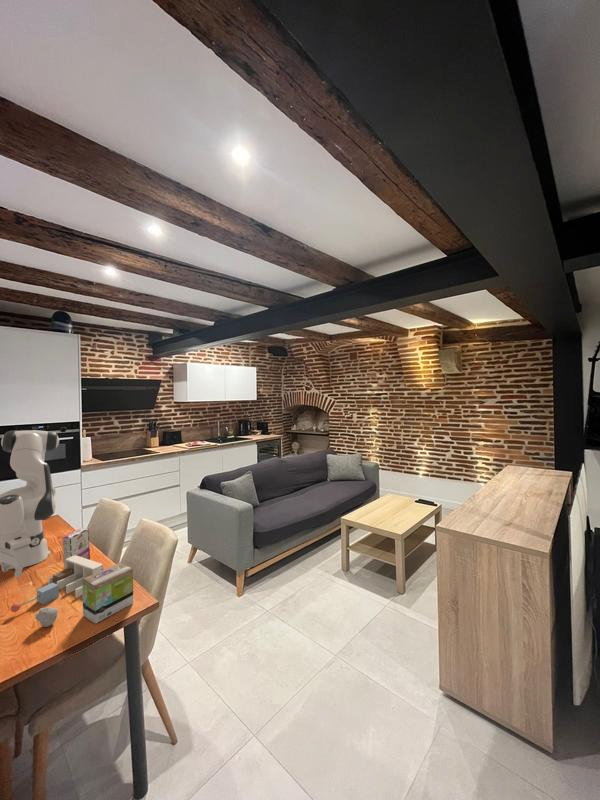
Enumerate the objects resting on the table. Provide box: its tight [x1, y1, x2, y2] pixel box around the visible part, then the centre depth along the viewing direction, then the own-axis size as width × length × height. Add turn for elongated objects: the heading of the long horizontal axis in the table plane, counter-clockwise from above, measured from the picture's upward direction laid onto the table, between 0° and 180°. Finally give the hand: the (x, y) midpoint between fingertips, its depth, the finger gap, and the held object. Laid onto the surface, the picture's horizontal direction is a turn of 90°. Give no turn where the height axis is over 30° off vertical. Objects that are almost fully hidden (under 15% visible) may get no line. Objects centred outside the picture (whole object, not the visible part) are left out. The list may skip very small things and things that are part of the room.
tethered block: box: [10, 583, 60, 613], centre depth 139 cm, size 4×16×5 cm, turn 153°
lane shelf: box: [47, 555, 104, 599], centre depth 153 cm, size 21×12×9 cm, turn 63°
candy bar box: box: [62, 527, 91, 570], centre depth 171 cm, size 11×5×16 cm, turn 168°
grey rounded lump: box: [34, 606, 59, 628], centre depth 126 cm, size 6×7×7 cm
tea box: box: [82, 562, 134, 624], centre depth 135 cm, size 15×10×15 cm, turn 148°
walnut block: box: [52, 569, 73, 584], centre depth 155 cm, size 4×6×5 cm
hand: (11, 573), depth 132 cm, fingers open, 8 cm apart
